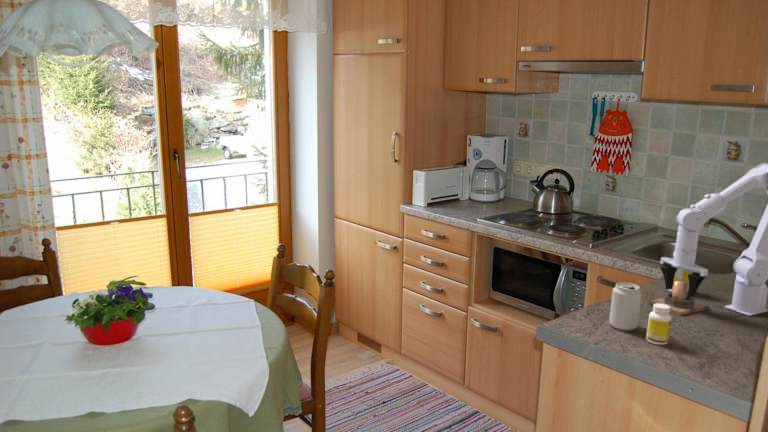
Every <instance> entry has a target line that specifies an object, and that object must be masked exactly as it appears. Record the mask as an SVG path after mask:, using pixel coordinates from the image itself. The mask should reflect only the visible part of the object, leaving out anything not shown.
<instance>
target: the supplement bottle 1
mask: <svg viewBox="0 0 768 432" xmlns="http://www.w3.org/2000/svg"><path fill="white" fill-rule="evenodd" d="M652 307H653V308H652V311H650V313H649V314H648V320H647V321H648V322H647V328H646V335H645V340H646V341H647V342H648V343H650V344H654V345H659V346H660V345H661V346H665V345H667V344H668V343H669V338H670V331H671V323H672V316H671V314H669V313H671V312H670V306H668V305H665V304H660V303H656V304H654V305H652Z"/></svg>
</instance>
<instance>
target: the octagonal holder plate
mask: <svg viewBox="0 0 768 432" xmlns="http://www.w3.org/2000/svg"><path fill="white" fill-rule="evenodd" d="M656 303H660V304H665V305H668V306H670V312H669V313H672V314H675V315H677V316H680V317H681V316H684V315H689V314H693V313H698V312H702V311H705V310H706V311H707V310H708V309H709V305H707V304H704V303H702V302H699V301H695V298H694V297H688V294H687V298H686V301H684V300H676V299H673V298H672V292H670V291H669V292H665V293H664V296H663V297H660V298H655V299H652V300H651V299H650V300H648V304H649V305H650V304H651V305H650V306H653V305H654V304H656Z"/></svg>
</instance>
